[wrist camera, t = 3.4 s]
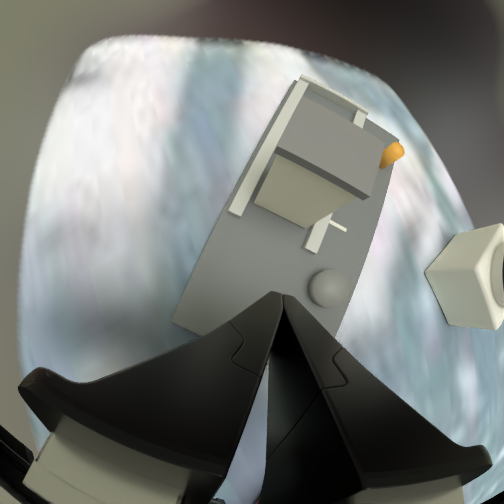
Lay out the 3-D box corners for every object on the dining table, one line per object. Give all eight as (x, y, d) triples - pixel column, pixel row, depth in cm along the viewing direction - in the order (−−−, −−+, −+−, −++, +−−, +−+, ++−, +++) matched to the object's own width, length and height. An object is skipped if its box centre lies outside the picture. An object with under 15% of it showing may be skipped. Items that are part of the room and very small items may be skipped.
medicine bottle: (447, 326, 24) (538, 336, 12) (422, 272, 24) (522, 261, 12) (477, 284, 25) (558, 278, 13) (455, 233, 25) (540, 210, 13)
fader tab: (306, 232, 21) (370, 196, 12) (249, 204, 21) (276, 145, 12) (321, 195, 22) (385, 142, 13) (268, 167, 22) (302, 96, 12)
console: (310, 377, 21) (328, 393, 17) (171, 319, 20) (163, 327, 17) (395, 142, 25) (415, 126, 21) (292, 84, 24) (302, 60, 20)
